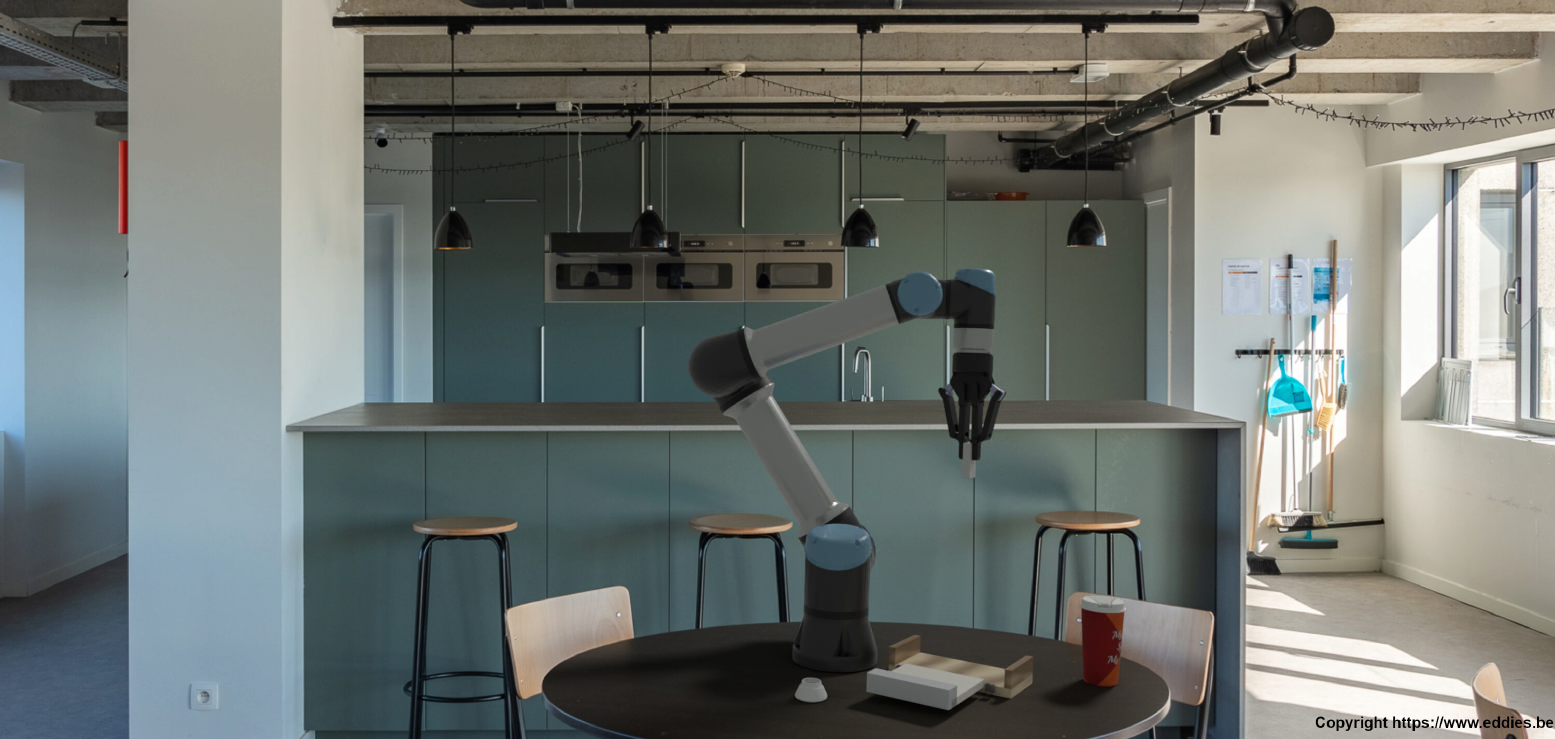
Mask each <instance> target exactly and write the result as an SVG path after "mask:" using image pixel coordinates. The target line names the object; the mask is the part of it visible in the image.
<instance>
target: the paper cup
mask: <svg viewBox="0 0 1555 739" xmlns="http://www.w3.org/2000/svg"><path fill="white" fill-rule="evenodd" d="M1078 606H1079V607H1080V608H1081V609H1080V611H1081V612H1080V613H1081V614H1080V616H1081V637H1082V638H1081V643H1082V644H1081V647H1082V648H1081V649H1082V671H1083V672H1082V673H1083V681H1084V682H1085V683H1087V684H1089V685H1093V686H1098V687H1107V688H1108V687H1114V686H1117V685H1118V682H1119V676H1120V675H1119V673H1120V666H1121V665H1120V663H1121V654H1122V652H1121V651H1122V643H1123V633H1124V622H1125V621H1124V620H1125V612H1126V611H1127V608H1126V606H1125V602H1124V600H1122V599H1120V598H1117V597H1113V596H1108V595H1107V596H1106V595H1086V596H1083V597H1082V599H1081V602H1080V603H1079V605H1078Z"/></svg>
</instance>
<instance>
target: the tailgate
mask: <svg viewBox="0 0 1555 739" xmlns="http://www.w3.org/2000/svg"><path fill="white" fill-rule="evenodd" d="M983 687H984V679H980V678H975V677H970V676H965V675H961V674H956V673H951V672H946V671H941V670H936V669H931V668H926V667H921V666H916V665H912V664H907V663H906V664H904V665H902V666H900V667H898V668H896V669H894V670H893V671H889V670H886V669H881V668H876V667H875V668H873V669H872V670H869V671H867V672H866V692H867V693H871V694H875V695H879V696H884V697H888V698H891V699H892V698H893V699H897V700H901V701H907V702H910V703H916V704H920V705H924V706H929V707H932V708H937V709H942V710H946V711H949V710H951V709H952V708H953V709H954V707H956V706H957V705H959V704H960V703H962V702H964V701H965V700H967V699H968V698H970V697H972V695H974V694H976V693H977V691H979V690H980V689H982V688H983Z"/></svg>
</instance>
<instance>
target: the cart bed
mask: <svg viewBox="0 0 1555 739" xmlns="http://www.w3.org/2000/svg"><path fill="white" fill-rule="evenodd" d="M921 636H922V635H919V634H918V635H917V634H913V635H912V636H911V635H910V636H909V637H907V638H905V639H902V640H900V641H898V642H897V643H894V644H892V645H890V646H889V647H888V648H889V649H888V650H889V651H888V654H889V655H888V671H893V670H894V669H896V668H898V667H900V666H902V665H904V664H906V663H907V664H912V665H916V666H921V667H926V668H931V669H936V670H941V671H946V672H951V673H956V674H961V675H965V676H970V677H975V678H980V679H984V687H983V688H982V689H980V690H979V691H977V692H978V693H983V694H986V695H987V694H988V695H992V696H997V697H1000V698H1006V699H1010V700H1011V699H1012V698H1014V697H1015V696H1017V695H1018V694H1020V693H1021V692H1023V690H1025V689H1026V688H1028V687H1029V686H1031V685H1032V684H1033V679H1034V678H1033V675H1034V672H1033V669H1034V656H1031V655H1024V656H1023V657H1021V658H1020V659H1019V660H1017V661H1016V662H1014V663H1012V664H1010V665H1009V666H1007V667H1006V668H1001V667H996V666H992V665H987V664H981V663H975V662H970V661H966V660H960V659H957V658H956V659H955V658H951V657H947V656H942V655H941V656H940V655H934V654H930V653H925V652H921V639H922V638H921ZM977 692H976V693H977Z"/></svg>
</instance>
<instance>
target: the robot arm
mask: <svg viewBox="0 0 1555 739" xmlns="http://www.w3.org/2000/svg"><path fill="white" fill-rule="evenodd" d="M996 291H997V290H996V274H995V273H994V272H993V271H992V270H990V269H987V268H985V269H984V268H960V269H957V270H956V271H955V275H954V278H950V279H937V278H936V277H935V276H934V275H933V274H931V273H930V272H927V271H915V272H911V273H909V274H907V275H906V276H905V277H903V278H896V279H893V280H892V281H891V282H889V283H886V284H882V285H879V286H877V287H873V288H871V289H869V290H865V291H862V292H860V293H857V294H853V295H850V296H847V297H846V298H845V297H844V298H843V299H840V300H836V301H834V302H830V303H828V304H826V305H823V306H820V307H817V308H813V309H811V310H808V311H804V312H802V313H800V314H797V315H794V316H791V317H788V318H786V319H782V320H780V321H776V322H774V323H771V324H768V325H765V326H762V327H759V328H756V329H753V328H750V327H748V326H746V327H742V328H740V329H737V330H733V331H730V332H726V333H722V334H721V333H720V334H715V335H710V336H708V337H706V338H703V339H702V340H700V341H699V342H698V343H697V344H696V345H695V346H694V347H693V349H692V350H691V352H690V355H689V358H688V365H687V368H688V374H689V377H690V378H689V379H691V382H692V384H693V385H694V386H695V387H696V388H697V389H698V390H699V391H700V392H701V393H703V394H705V395H707V396H709V397H710V396H711V397H712V399H713V400H714V402H715V403H716V405H717V407H718V408H719V411H721V413H722V415H723V416H725V417H729V418H732V419H734V420H735V421H736V423H737V425H738V427H739V428H740V430H741V431H742V433H743V435H744V436H745V437H746V438H745V439H747V441H748V443H749V445H750V446H751V447H752V450H753V451H754V453H755V454H756V456H757V458H758V459H759V460H760V462H761V464H762V466H763V467H764V469H765V471H766V473H767V474H768V475H769V477H770V479H771V480H772V482H773V484H774V485H775V488H776V489H777V490H778V492H779V494H780V496H781V498H782V499H783V500H784V501H785V503H786V506H787V507H788V509H789V510H790V512H791V513H792V514H793V517H794V518H795V520H796V522H797V523H798V532H797V535H796V536H797V539H798V540H799V541H800V543H801V545H802V547H803V549H804V556H805V557H804V588H803V615H802V619H801V622H800V625H799V628H798V629H797V633H796V636H795V639H794V642H793V645H792V661H793V662H794V663H796V664H797V665H799V666H801V667H804V668H807V669H810V670H815V671H821V672H830V673H850V672H851V673H853V672H859V671H860V672H861V671H865V670H868V669H871V668H873V667H875V666H876V665H877V664H878V647H877V643H876V640H875V636H874V633H873V630H872V626H871V623H870V622H871V621H870V618H869V617H870V616H869V611H870V580H871V571H872V569H873V567H874V565H875V560H876V558H877V557H876V556H877V552H876V551H877V550H876V549H877V548H876V545H875V540H874V537H873V535H872V533H870V531H869V529H867V527H866V526H864V525H863V524H862V523H861V522H860V521H859V519H858V518H857V516H856V514H855V513H854V511H853V510H852V508H851V506H850V505H849V504H848V503H845V502H842V501H841V502H840V501H838V500H837V499H836V497H835V494H834V493H833V492H832V491H831V489H830V487H829V486H828V484H827V482H826V480H825V478H824V477H823V475H822V474H821V473H820V471H819V469H818V467H817V466H816V464H815V463H814V461H813V460H812V458H811V456H810V455H809V452H808V451H807V450H806V448H805V447H804V445H803V444H802V441H801V440H800V438H799V437H798V435H797V434H796V432H795V430H794V428H793V426H792V425H791V424H790V422H789V420H788V418H787V417H786V416H785V414H784V412H783V410H782V409H781V407H780V406H779V404H778V403H777V402H778V401H777V400H776V399H775V398H774V396H773V393H774V388H775V383H774V381H773V379H772V378H771V376H770V374H769V373H768V371H770V370H771V369H774V368H777V367H780V366H783V365H785V364H789V363H791V362H794V361H797V360H800V359H802V358H806V357H808V356H811V355H812V356H813V355H815V354H818V353H820V352H824V351H825V350H826V351H827V350H829V349H832V348H834V347H837V346H840V345H844V344H847V343H849V342H851V341H855V340H858V339H860V338H863V337H866V336H869V335H872V334H875V333H877V332H881V331H883V330H886V329H889V328H892V327H895V326H898V325H900V324H904V323H907V322H910V321H913V320H918V319H919V320H953V333H952V334H953V336H952V338H953V339H952V349H953V350H955V352H953V354H952V360H951V361H952V362H951V363H952V365H951V367H952V368H951V369H952V370H951V371H952V375H951V377H950V380H949V383H948V384H946V385H945V386H943V387H939V388H938V389H937V392H938V394H939V396H940V397H941V399H942V403H943V408H944V413H945V418H946V424H947V425H946V426H947V429H948V435H949V438H950V439H954V440H956V441H957V442H958V459H959V460H962V469H961V470H962V471H961V472H962V473H961V477H962V478H963V479H975V478H976V469H977V466H976V465H977V461H980V459H981V457H982V456H981V454H982V453H981V452H982V451H981V450H982V444H983V442H985V441H989V440H991V438H992V435H993V434H994V432H993V431H994V428H995V426H996V425H995V424H996V421H997V418H998V413H999V409H1000V406H1001V403H1002V401H1003V400H1004V398H1005V397H1006V395H1007V392H1006V390H1004V389H1001V388H999V387H998V386H996V385H995V380H994V377H993V372H994V355H993V353H991V351H994V348H995V346H994V343H995V321H996V320H995V316H996V315H995V314H996V296H997V292H996ZM954 393H955V395H956V396H957V398H958V401H957V402H958V404H957V405H958V413H957V409H956V403H955V399H954ZM989 395H990V400H989V403H988V406H987V410H986V413H985V418H984V406H985V399H986V398H987V397H988V396H989ZM983 418H984V420H983ZM970 422H971V423H970ZM970 426H971V429H970ZM970 430H971V431H970Z"/></svg>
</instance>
